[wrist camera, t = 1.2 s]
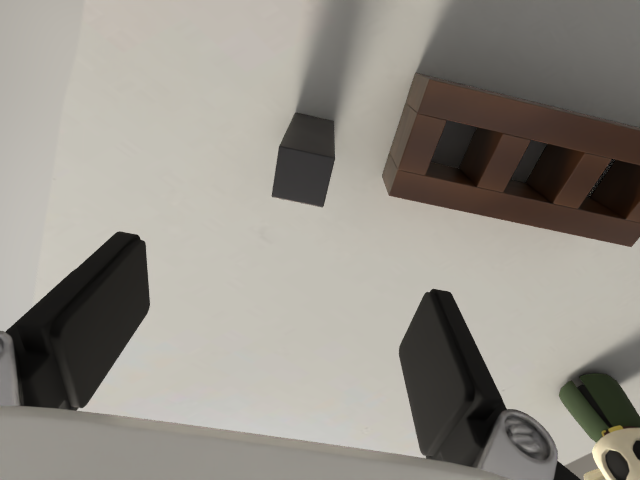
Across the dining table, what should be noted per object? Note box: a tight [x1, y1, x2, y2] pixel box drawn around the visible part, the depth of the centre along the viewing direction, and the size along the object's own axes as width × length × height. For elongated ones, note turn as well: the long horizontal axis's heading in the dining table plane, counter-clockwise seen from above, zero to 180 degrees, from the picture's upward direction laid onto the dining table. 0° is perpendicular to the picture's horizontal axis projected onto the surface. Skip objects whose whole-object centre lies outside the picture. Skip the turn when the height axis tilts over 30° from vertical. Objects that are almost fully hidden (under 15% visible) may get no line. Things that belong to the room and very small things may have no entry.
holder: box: [382, 73, 640, 247], centre depth 25 cm, size 8×19×4 cm, turn 78°
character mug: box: [559, 373, 640, 480], centre depth 35 cm, size 11×7×13 cm, turn 137°
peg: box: [272, 113, 335, 207], centre depth 22 cm, size 3×3×9 cm
